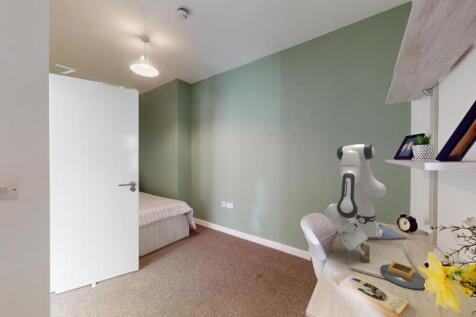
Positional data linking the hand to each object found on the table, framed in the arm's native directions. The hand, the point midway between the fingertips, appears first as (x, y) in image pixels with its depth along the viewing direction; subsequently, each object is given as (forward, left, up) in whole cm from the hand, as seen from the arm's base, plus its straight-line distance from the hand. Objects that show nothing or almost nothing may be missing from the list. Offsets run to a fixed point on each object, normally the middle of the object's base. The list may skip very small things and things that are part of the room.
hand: (366, 252), depth 99 cm
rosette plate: (+3, +15, -4) cm, 16 cm away
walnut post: (0, -1, -4) cm, 4 cm away
